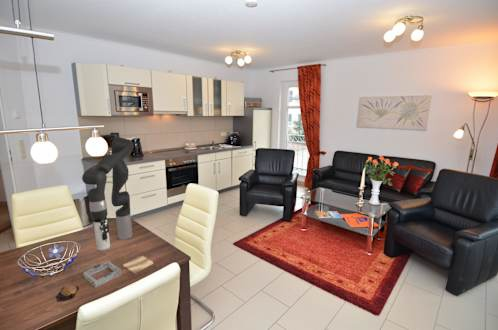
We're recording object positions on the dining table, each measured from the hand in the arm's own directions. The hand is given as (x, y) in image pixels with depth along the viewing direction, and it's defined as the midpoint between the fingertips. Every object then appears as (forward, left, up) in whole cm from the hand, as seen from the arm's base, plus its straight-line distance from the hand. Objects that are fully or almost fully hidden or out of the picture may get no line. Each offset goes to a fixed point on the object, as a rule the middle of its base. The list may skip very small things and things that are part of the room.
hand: (102, 237), depth 135 cm
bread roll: (0, -19, -23) cm, 30 cm away
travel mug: (0, 0, -7) cm, 7 cm away
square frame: (0, -2, -22) cm, 22 cm away
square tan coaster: (+6, +15, -22) cm, 28 cm away
